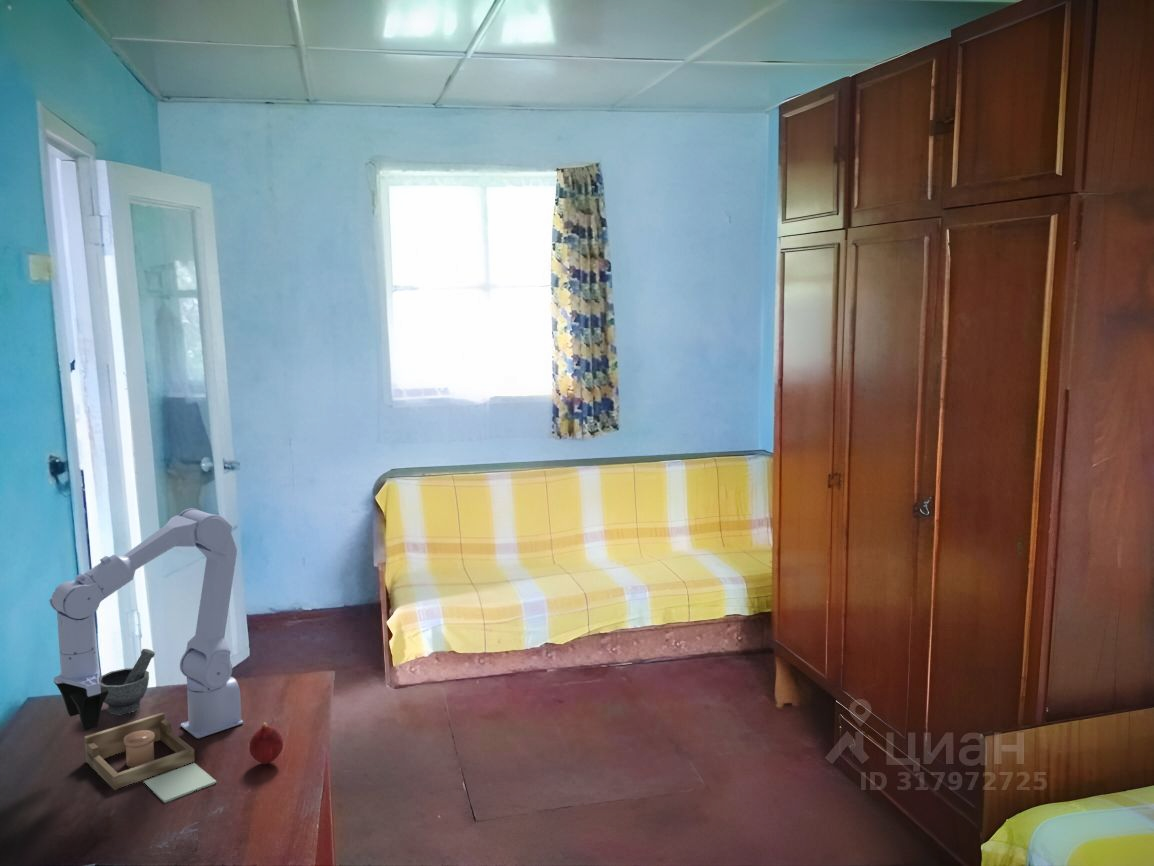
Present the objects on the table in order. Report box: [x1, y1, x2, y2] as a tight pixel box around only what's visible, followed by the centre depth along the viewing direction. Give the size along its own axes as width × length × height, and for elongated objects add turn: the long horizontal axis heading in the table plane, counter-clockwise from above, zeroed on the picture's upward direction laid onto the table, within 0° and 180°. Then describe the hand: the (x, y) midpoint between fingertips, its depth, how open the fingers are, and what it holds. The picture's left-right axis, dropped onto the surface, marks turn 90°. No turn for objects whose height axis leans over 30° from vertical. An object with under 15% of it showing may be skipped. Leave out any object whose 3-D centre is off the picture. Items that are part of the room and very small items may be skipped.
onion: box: [249, 721, 284, 765], centre depth 162 cm, size 6×6×8 cm
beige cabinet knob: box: [124, 730, 155, 768], centre depth 162 cm, size 5×5×5 cm
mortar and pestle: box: [99, 648, 156, 716], centre depth 184 cm, size 11×9×12 cm
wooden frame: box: [84, 712, 196, 791], centre depth 162 cm, size 14×14×5 cm
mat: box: [143, 762, 217, 804], centre depth 155 cm, size 9×9×1 cm
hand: (83, 721), depth 157 cm, fingers open, 7 cm apart
